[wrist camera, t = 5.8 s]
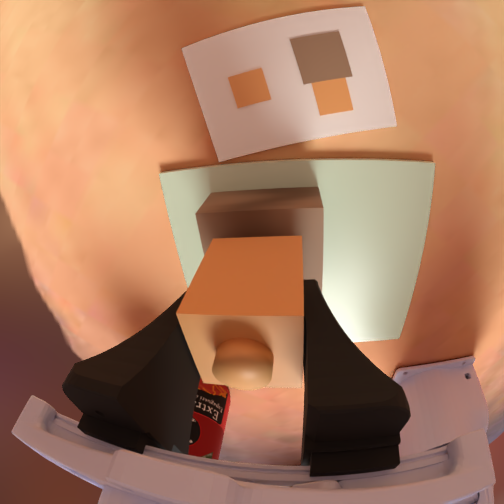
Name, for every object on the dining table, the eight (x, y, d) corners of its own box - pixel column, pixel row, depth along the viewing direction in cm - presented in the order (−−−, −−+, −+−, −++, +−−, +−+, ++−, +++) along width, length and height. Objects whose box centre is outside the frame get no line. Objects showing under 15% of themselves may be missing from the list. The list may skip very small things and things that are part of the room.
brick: (301, 235, 12) (303, 335, 8) (303, 305, 14) (301, 405, 10) (212, 238, 13) (167, 330, 8) (226, 305, 15) (199, 398, 10)
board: (432, 161, 14) (435, 163, 13) (398, 335, 21) (399, 338, 20) (161, 171, 16) (158, 173, 16) (205, 337, 23) (204, 341, 23)
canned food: (239, 379, 26) (217, 483, 17) (224, 411, 30) (206, 493, 21) (163, 357, 26) (124, 454, 17) (163, 392, 30) (134, 471, 21)
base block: (318, 186, 15) (323, 207, 13) (318, 277, 18) (321, 308, 16) (211, 192, 16) (195, 213, 14) (226, 278, 19) (216, 308, 17)
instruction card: (364, 7, 10) (365, 5, 9) (395, 125, 13) (397, 126, 13) (182, 48, 12) (180, 48, 12) (220, 161, 16) (218, 162, 15)
